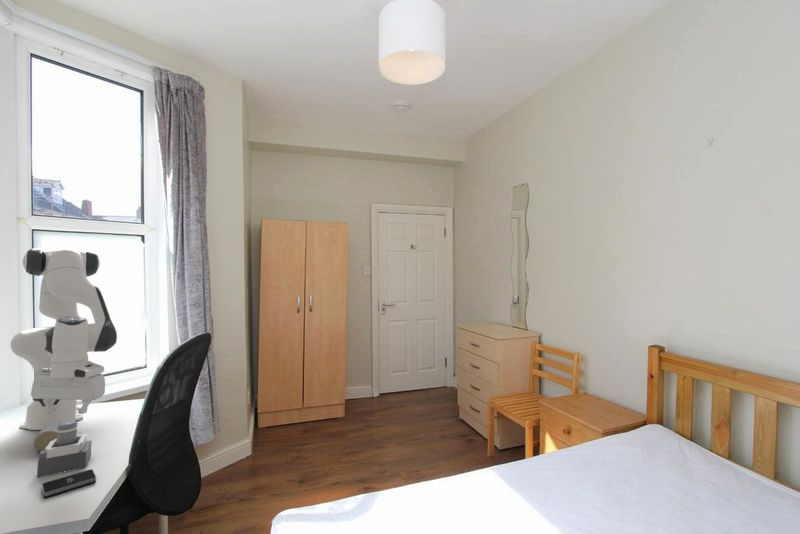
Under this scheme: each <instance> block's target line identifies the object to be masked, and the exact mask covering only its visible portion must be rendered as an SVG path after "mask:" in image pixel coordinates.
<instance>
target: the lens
mask: <svg viewBox="0 0 800 534" xmlns="http://www.w3.org/2000/svg"><path fill="white" fill-rule="evenodd" d="M77 435H78V420H77V421H69V422H65V423H61V424H59V425H58V429H57V447H59V446H65V445H71V444H76V440H77Z"/></svg>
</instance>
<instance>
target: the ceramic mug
mask: <svg viewBox="0 0 800 534" xmlns="http://www.w3.org/2000/svg"><path fill="white" fill-rule="evenodd" d="M61 423H62V422H52V423H49V424H47V425H46V426H45V427H44V428H43V429H42V430H40V431H39V432H38V434H37V435H36V436H35V438H34V441H33V446H34V448H35V450H37V451H38V452H41V451H43V450H45V448H46V447H47V446H48V444H49V443H50V442H51V441H54V439H57V429H58V425H59V424H61Z"/></svg>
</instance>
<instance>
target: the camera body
mask: <svg viewBox="0 0 800 534" xmlns="http://www.w3.org/2000/svg"><path fill="white" fill-rule="evenodd" d="M91 457H92V440H91V439H90V440H87V434H84V433H83V434H77V440H76V444H71V445H65V446H59V447H57V439H54V441H51V442H50V443H49V444H48V446H47V447H46V448H45V450H43V451H39V454H38V460H37V475H36V477H37V478H41V477H40V476H42V477H46V476H45V475H47V476H51V474H52V475H56V474H55V473H57V474H60V473H59V472H62V473H65V472H64V471H67V472H69V471H68V470H71V471H74V470H73V469H76V470H80V469H79V468H81V469H85V468H84V467H86V468H87V466H86V465H88V463H89V461H90V459H91Z"/></svg>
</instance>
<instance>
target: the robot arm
mask: <svg viewBox="0 0 800 534" xmlns="http://www.w3.org/2000/svg"><path fill="white" fill-rule="evenodd" d="M100 264H101V263H100V258H99V256H98V254H97V253H96V252H95V251H93V250H81V249H73V248H42V247H35V248H29V250H27V251H26V253H25V254H24V255H23V258H22V266H23V269H24V270H25V272H26V273H27V274H28V275H32V276H37V277H40V276H42V279H41V283H40V290H39V291H40V293H39V305H38V306H39V307H38V310H39V312H40V314H42V315H43V316H45V317H47V318H51V319H53V320H55V324H54V326H46V327H45V326H44V327H33V328H29V329H25V330H21V331H18V332H17V333H16V334H14V335H13V337H12V339H11V341H10V349H11V352H12V353H13V354H15V355H16V356H17V357H20V358H22V359H24V360H25V361H26V362H28V363H29V364H30V365H31V367H32V370H33V372H34V379H33V381H32V386H31V389H30V390H31V392H30V396H31V398H32V402H31V403H29V404H28V405H27V407H26V414H25V422H23V423H21V424H19V429H27V430H31V431H39V430H40V431H41V430H42V429H43V428H44V427H45V426H46V425H47V424H49V423H52V422H62V423H65V422H69V421H77V422H78V421H80V420H83V419H84V414H86V413H87V412H88V407H89V405H90V404H91V403H92V401H96V400H99V399H101V398H102V397H103V396H104V395H105V392H106V378H105V376H104V375H103V373H104V372H105V367H104V366H103V365H102V364H101V365H100V364H98V363H95V362H94V361H91V360H89V354H88V352H89V353H91V352H93V353H95V352H96V353H97V352H99V353H101V352H108V350H110V349H112V348H113V347H114V346H115V345H116V344H117V340H118V339H117V338H118V332H117V329H116V327H115V325H114V323H113V321H112V319H111V316H110V314H109V310H108V307H107V304H106V301H105V299H104V297H103V296H104V295H103V293H102V292H101V290H100V288H99V287H98V286H96V285H94V284H92V283H91V282H90V280H88V277H91V276H93V275H95V274H96V273H97V272H98V271H99V268H100ZM78 304H81V305H83V306H86V307H88V308H89V309H90V311H91V314H92V318H93V320H94V323H88V319H87V318H85V317H82V316H80V314H79V312H78ZM78 401H81V404H82V405H81V407H79V406H77V404H78Z"/></svg>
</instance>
